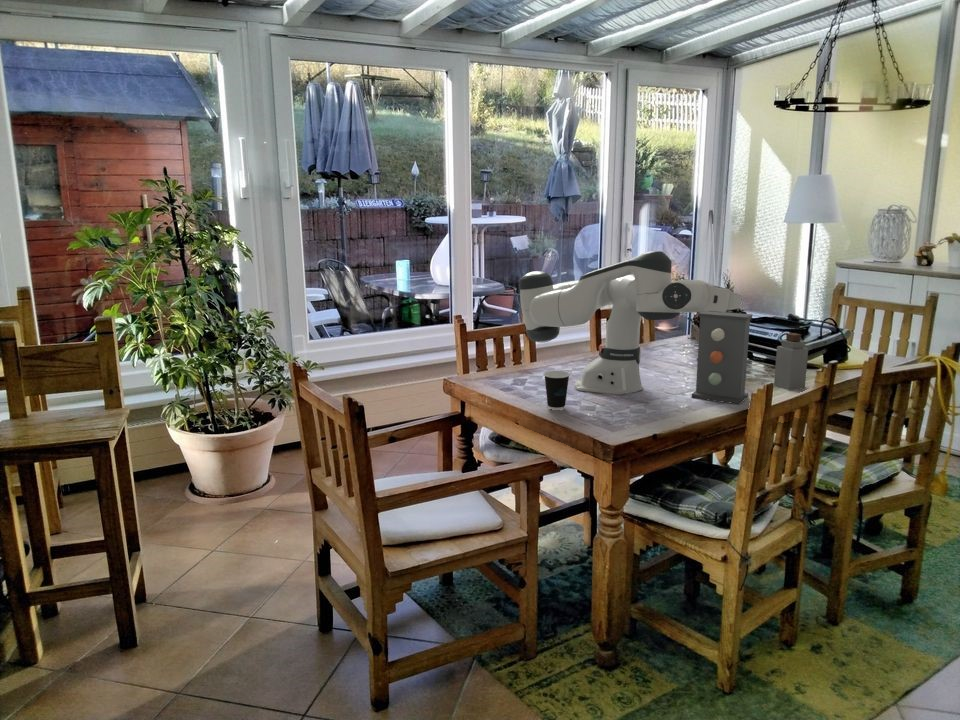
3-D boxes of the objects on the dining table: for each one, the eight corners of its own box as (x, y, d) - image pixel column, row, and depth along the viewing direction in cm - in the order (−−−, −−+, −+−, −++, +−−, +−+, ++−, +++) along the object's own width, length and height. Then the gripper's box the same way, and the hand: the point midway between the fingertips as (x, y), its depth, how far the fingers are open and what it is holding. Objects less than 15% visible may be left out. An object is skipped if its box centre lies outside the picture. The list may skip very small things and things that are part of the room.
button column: (691, 397, 235) (696, 314, 228) (701, 390, 243) (706, 309, 237) (739, 404, 226) (745, 318, 220) (747, 396, 235) (754, 313, 228)
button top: (710, 340, 225) (711, 328, 224) (714, 338, 228) (714, 327, 227) (722, 341, 223) (723, 330, 222) (725, 339, 226) (726, 328, 225)
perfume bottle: (789, 383, 250) (794, 331, 246) (804, 388, 244) (809, 335, 240) (773, 385, 248) (778, 333, 243) (788, 390, 241) (793, 336, 237)
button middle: (709, 362, 227) (710, 351, 226) (712, 360, 229) (713, 349, 228) (721, 363, 225) (721, 352, 224) (724, 361, 227) (725, 350, 226)
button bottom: (708, 384, 228) (708, 373, 227) (711, 382, 231) (711, 371, 230) (719, 385, 226) (720, 374, 225) (722, 383, 229) (723, 372, 228)
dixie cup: (561, 413, 219) (561, 378, 217) (538, 409, 224) (538, 374, 221) (574, 407, 226) (574, 372, 223) (551, 403, 230) (552, 369, 228)
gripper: (657, 302, 207) (675, 301, 218) (730, 313, 195) (744, 312, 207) (661, 279, 206) (678, 280, 217) (734, 289, 194) (748, 290, 206)
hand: (711, 296), depth 212 cm, fingers open, 8 cm apart
